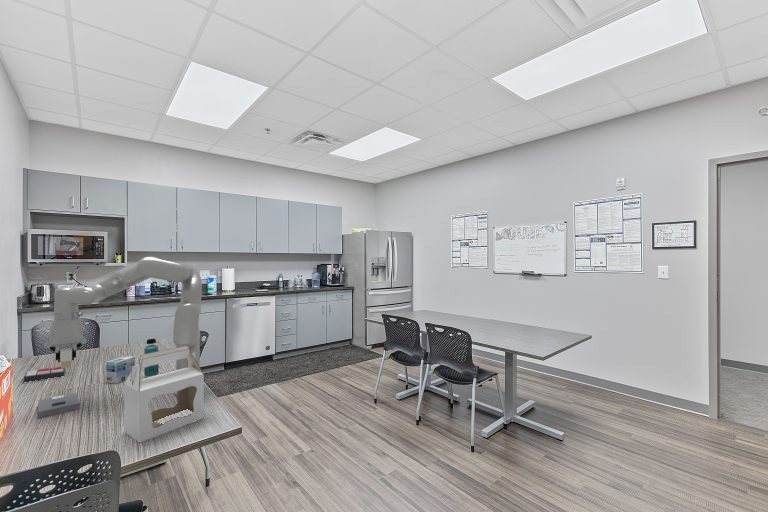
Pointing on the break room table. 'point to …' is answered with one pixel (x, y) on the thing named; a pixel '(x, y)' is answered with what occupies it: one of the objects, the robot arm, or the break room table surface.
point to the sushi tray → (44, 374)
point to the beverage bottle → (149, 349)
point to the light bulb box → (119, 369)
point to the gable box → (145, 389)
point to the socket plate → (57, 405)
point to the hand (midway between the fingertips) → (65, 360)
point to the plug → (65, 357)
